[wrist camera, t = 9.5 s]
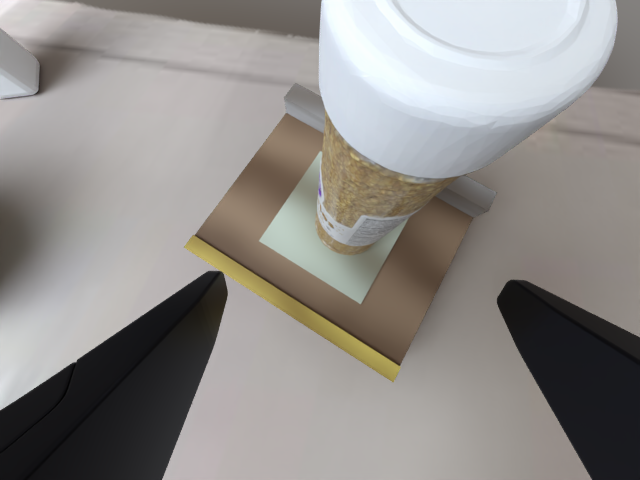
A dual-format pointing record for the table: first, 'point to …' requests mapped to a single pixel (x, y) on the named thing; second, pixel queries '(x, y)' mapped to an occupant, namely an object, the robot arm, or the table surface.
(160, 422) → the robot arm
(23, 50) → the pepper shaker
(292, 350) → the table surface
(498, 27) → the sprinkles bottle
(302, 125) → the dock
